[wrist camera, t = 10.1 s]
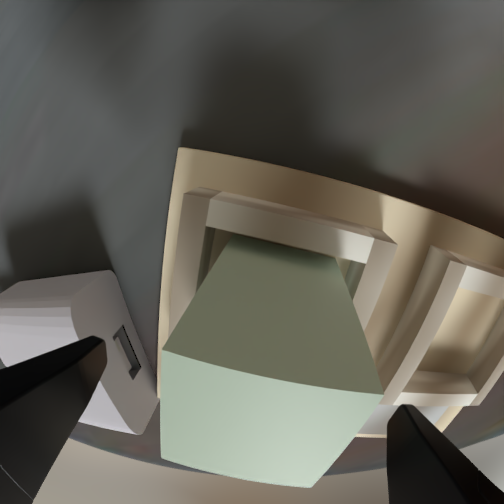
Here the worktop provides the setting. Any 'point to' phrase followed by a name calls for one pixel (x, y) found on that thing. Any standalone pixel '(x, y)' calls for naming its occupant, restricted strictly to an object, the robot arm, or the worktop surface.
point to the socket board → (354, 272)
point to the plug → (266, 368)
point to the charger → (79, 327)
